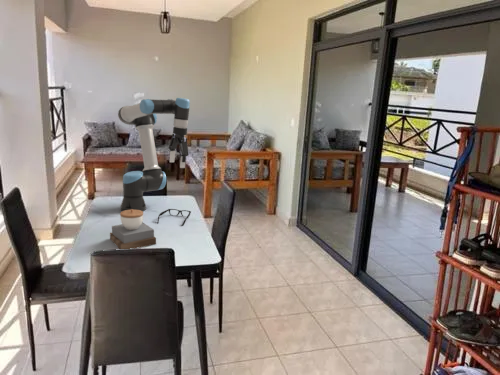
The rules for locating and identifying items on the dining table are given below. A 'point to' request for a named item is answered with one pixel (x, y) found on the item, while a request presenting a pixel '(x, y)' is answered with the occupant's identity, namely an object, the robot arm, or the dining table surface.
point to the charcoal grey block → (132, 233)
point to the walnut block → (132, 244)
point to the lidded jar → (131, 219)
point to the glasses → (175, 215)
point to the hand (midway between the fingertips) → (176, 165)
